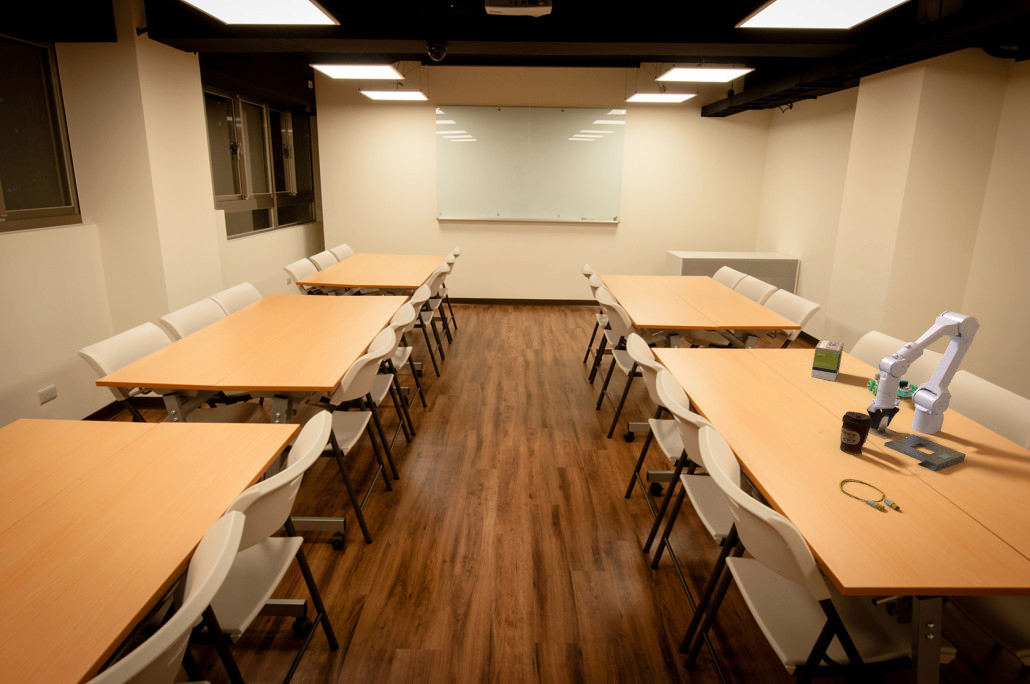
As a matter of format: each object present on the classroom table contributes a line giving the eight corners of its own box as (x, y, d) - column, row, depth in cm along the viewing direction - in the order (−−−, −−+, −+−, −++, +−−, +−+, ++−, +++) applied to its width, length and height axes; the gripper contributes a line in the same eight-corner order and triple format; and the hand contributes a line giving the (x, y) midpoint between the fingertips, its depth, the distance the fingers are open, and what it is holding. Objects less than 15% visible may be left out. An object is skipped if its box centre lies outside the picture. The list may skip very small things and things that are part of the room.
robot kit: (884, 407, 221) (888, 385, 218) (862, 385, 244) (867, 365, 242) (937, 412, 217) (943, 390, 214) (910, 390, 240) (915, 370, 237)
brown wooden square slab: (872, 426, 203) (873, 422, 202) (900, 437, 194) (901, 433, 194) (855, 431, 199) (855, 427, 198) (883, 443, 190) (884, 439, 190)
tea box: (815, 368, 265) (820, 338, 261) (839, 372, 260) (844, 342, 256) (810, 376, 254) (815, 346, 250) (834, 381, 248) (840, 350, 244)
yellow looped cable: (852, 509, 152) (853, 503, 152) (832, 480, 167) (833, 474, 166) (901, 515, 150) (903, 508, 149) (876, 484, 165) (878, 479, 164)
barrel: (876, 427, 199) (879, 412, 197) (887, 431, 195) (891, 416, 193) (869, 429, 197) (872, 413, 195) (880, 434, 193) (884, 418, 192)
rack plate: (911, 440, 192) (913, 433, 191) (963, 461, 178) (965, 454, 178) (883, 449, 185) (884, 442, 185) (935, 471, 172) (937, 464, 171)
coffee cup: (854, 459, 179) (862, 422, 175) (830, 448, 186) (837, 412, 182) (870, 453, 182) (878, 417, 179) (846, 443, 190) (853, 408, 186)
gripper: (888, 384, 198) (880, 419, 202) (862, 390, 192) (855, 426, 196) (909, 391, 192) (900, 426, 196) (883, 397, 186) (875, 434, 190)
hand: (879, 427), depth 196 cm, fingers open, 5 cm apart
